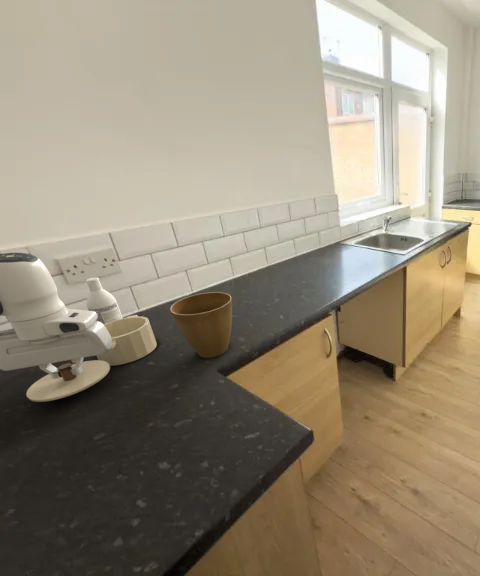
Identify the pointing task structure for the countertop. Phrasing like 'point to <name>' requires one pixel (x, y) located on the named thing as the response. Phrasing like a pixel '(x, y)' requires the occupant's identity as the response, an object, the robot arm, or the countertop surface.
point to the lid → (68, 381)
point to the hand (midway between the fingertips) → (68, 375)
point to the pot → (129, 340)
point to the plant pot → (205, 322)
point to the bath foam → (102, 302)
